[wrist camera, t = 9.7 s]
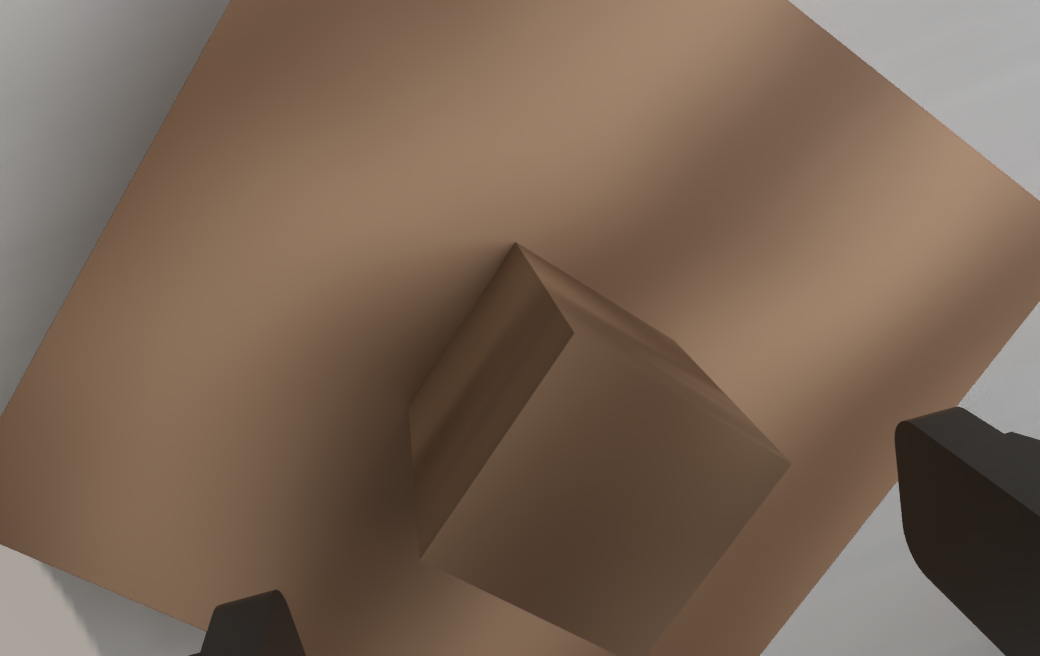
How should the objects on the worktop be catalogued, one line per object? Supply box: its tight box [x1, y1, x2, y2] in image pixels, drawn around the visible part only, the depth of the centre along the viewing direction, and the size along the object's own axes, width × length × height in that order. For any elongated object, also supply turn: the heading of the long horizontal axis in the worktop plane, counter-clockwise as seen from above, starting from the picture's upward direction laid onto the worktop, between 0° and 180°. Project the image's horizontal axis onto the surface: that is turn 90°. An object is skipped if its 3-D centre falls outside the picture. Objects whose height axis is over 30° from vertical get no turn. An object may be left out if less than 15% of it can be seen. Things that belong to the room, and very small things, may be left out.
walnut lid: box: [0, 0, 1040, 656], centre depth 14 cm, size 15×15×6 cm
